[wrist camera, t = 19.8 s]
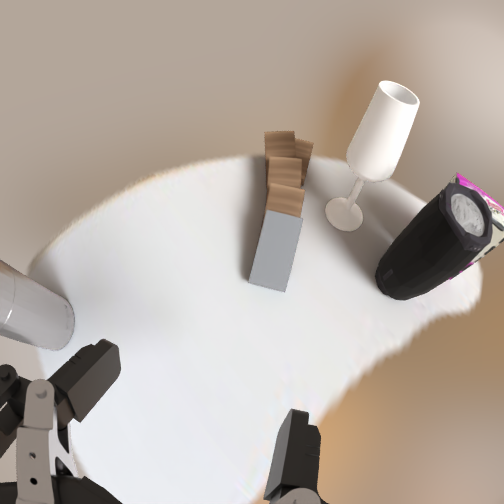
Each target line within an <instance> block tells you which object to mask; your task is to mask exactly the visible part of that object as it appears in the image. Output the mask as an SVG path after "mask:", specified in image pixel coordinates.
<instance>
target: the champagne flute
mask: <svg viewBox="0 0 504 504" xmlns="http://www.w3.org/2000/svg"><path fill="white" fill-rule="evenodd" d="M419 104H420V102H419V99H418V98H417V96H416V95H415V94H414V93H413V92H411V91H410V90H409V89H407V88H406V87H404V86H402V85H399V84H397V83H394V82H391V81H381V82H380V84H379V86H378V88H377V90H376V92H375V94H374V97H373V98H372V100H371V102H370V104H369V107H368V109H367V111H366V113H365V115H364V117H363V119H362V121H361V123H360V125H359V127H358V129H357V131H356V133H355V135H354V137H353V139H352V141H351V143H350V145H349V147H348V149H347V154H346V156H347V161H348V164H349V166H350V168H351V170H352V172H353V173H354V174H355V175H356V176H357V177H358V178H357V181H356V183H355V185H354V187H353V189H352V191H351V193H350V195H349V197H348V199H347V198H342V197H338V198H334V199H332V200H330V201H329V202H328V203H327V205H326V208H325V213H326V217H327V219H328V221H329V222H330V223H331V224H332V225H333V226H334V227H336V228H337V229H339V230H342V231H354V230H356V229H358V228H359V227H360V226H361V224H362V222H363V214H362V211H361V209H360V208H359V206H358V205H357V204H356V203H354V202H355V200H356V198H357V197H358V195H359V193H360V191H361V189H362V187H363V185H364V183H365V181H367V182H371V183H375V182H381V181H384V180H387V179H388V178H389V177H391V175H392V174H393V172H394V170H395V167H396V165H397V163H398V160H399V158H400V155H401V153H402V150H403V148H404V145H405V143H406V140H407V137H408V135H409V132H410V129H411V127H412V124H413V121H414V118H415V116H416V113H417V110H418V107H419Z"/></svg>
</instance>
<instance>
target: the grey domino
mask: <svg viewBox="0 0 504 504" xmlns="http://www.w3.org/2000/svg"><path fill="white" fill-rule="evenodd" d="M302 222H303V218H299V217H295V216H291V215H287V214H283V213H279V212H274V211H270V210H267V211H266V215H265V219H264V223H263V227H262V231H261V235H260V239H259V243H258V246H257V250H256V254H255V258H254V262H253V266H252V270H251V274H250V278H249V282H248V283H251V284H254V285H258V286H262V287H266V288H270V289H274V290H278V291H282V292H285V291H286V287H287V283H288V279H289V275H290V271H291V268H292V264H293V260H294V256H295V252H296V247H297V243H298V239H299V235H300V231H301V227H302Z"/></svg>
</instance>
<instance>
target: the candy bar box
mask: <svg viewBox="0 0 504 504" xmlns="http://www.w3.org/2000/svg"><path fill="white" fill-rule="evenodd" d="M450 183H458V184H460V185H463V186H465V187H468V188H470V189H473V190H476V191H477V192H478V193H479V194H480V195H481V196H482V198H483V199H484V200H485V201H486V202H487V204H488V206H489V208H490V210H491V212H492V225H493V234H492V239H491V242H490V244H488V245H487V246H486V247H485V248H484V249H483V250H482V251H481V252H480V253H479V254H478V255H477V256H476V257H475V258H474V259H473V260H472V261H471V262H470V263H469V264H468V265H467V266H466V267H465V268H464V269H463V270H461V271H460V272H459V273H457V274H456V275H454V276H453V277H451V278H449V279H450V280H451V279H452V278H454V277H455V276H457V275H458V274H460V273H461V272H463V271H464V270H465V269H467V268H468V267H470V266H471V265H472V264H474V263H475V262H477V261H478V260H479V259H480V258H482V257H483V256H485V255H486V254H487V253H488V252H490V251H491V250H493V248H495V247H496V246H498V245H499V244H500V243H501V242H503V241H504V208H503V207H502V206H501V205H500V204H499V203H497V202H496V201H495V200H494V199H493V198H491V197H490V196H489V195H487V194H486V193H485V192H484V191H482V190H481V189H480V188H478V187H477V186H476V185H474V184H473V183H472V182H470V181H469V180H467V179H466V178H465V177H463V176H462V175H460V174H459V173H456V174H455V175H454V176H453V178H452V179H451V181H450ZM448 184H449V183H448ZM445 188H446V187H445Z"/></svg>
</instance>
